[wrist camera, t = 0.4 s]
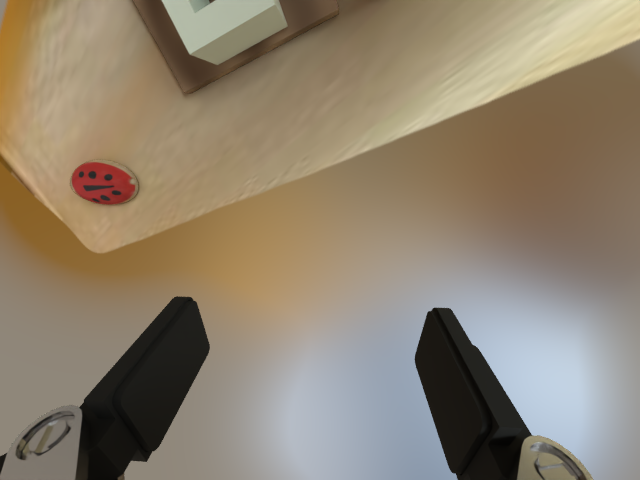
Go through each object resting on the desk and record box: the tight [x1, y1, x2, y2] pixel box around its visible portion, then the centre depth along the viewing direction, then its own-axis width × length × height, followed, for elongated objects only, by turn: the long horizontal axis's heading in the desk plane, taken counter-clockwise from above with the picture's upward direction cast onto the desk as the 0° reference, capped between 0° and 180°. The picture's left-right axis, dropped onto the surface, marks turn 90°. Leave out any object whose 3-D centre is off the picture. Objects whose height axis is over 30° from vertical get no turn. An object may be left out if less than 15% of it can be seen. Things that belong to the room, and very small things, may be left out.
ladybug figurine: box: [70, 160, 138, 204], centre depth 36 cm, size 7×10×4 cm
